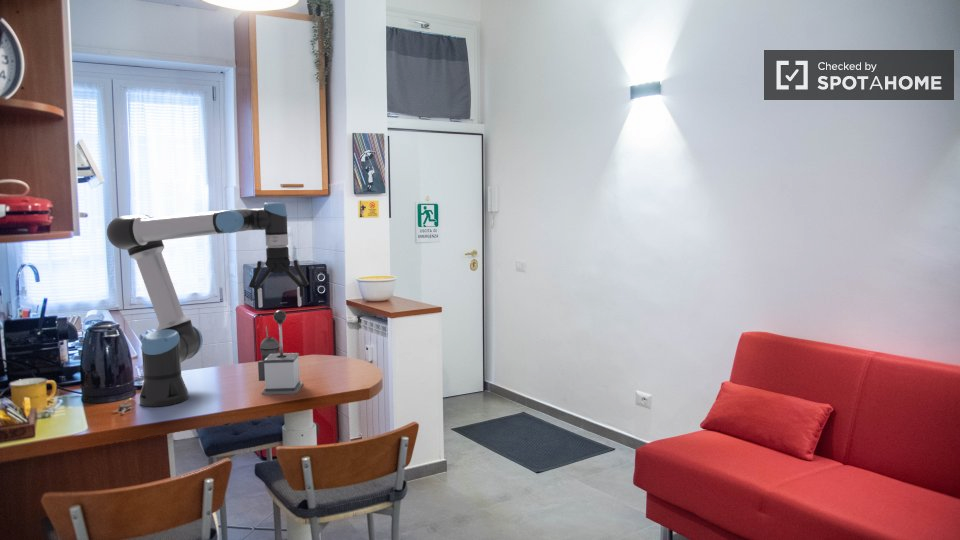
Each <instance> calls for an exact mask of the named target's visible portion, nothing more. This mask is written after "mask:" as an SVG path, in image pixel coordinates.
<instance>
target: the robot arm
mask: <svg viewBox="0 0 960 540" xmlns="http://www.w3.org/2000/svg"><path fill="white" fill-rule="evenodd" d="M246 231H265V233H264V234H265V235H264V236H265V247H266V246H267V247H266V248H265V249H266V251H265V252H266V253H265V254H266V261H263V260H261V259H260V260H258V261H257V263H256V268H255V271H254V273H253V275H252V278H251V280H250V282H249V285H248V287H249V288H252V289H254V297H255V299H257V300H258V302H257V303H258V304H257V305H258V308H263V289H262V288H261V286H262V285H263V283H264V282H265V281H266V280H267V278H269V275H271V274H284V273H285V274H287V276H288V277H289V278H290V279H291V280H292V281H293V282H294V283H295V285H297V286H298V287H297V288H296V295H297V306H298V307H301V306H302V297H304V296H305V287H307V286H308V285H309V284H310V282H309V281H308V280H309V279H307V277H306V275H305V274H304V272H303V270H302V268H301V266H300V263H299V262H300V261H299V260H298V259H294V260H290V255H289V254H290V253H289V247H288V246H289V236H288V214H287V206H286V203H284V202H264V204H263V207H262V208H231V209H224V210H218V211H208V212H206V211H205V212H198V213H197V212H196V213H189V214H178V215H172V216H171V215H170V216H169V215H168V216H161V217H155V216H152V215H149V214H144V213H143V214H142V213H140V214H133V215H121V216H117V217H115V218H113V219H112V220H111V221H110V222H109V224H108V225H107V229H106V236H107V240H108V241H109V243H111V245H112V246H114V247H116V248H118V249H120V250H125V251H127V253H128V256H129V258H131V259H133V260H135V261H136V264H137V267H138V269H139V272H140V275H141V278H142V280H143V283H144V286H145V288H146V291H147V294H148V296H149V299H150V303H151V305H152V307H153V310H154V313H155V316H156V319H157V321H158V326H157V329H156V331H151V332H148V333H146V334H145V335H144V336H143V337H142V338H141V347H140V349H141V358H142V370H143V383H142V386H141V390H140V393H139V398H138V399H139V405H141V406H144V407H148V408H149V407H151V408H152V407H154V408H155V407H165V406H170V405H171V406H172V405H175V404H176V405H177V404H180V403H182V402H184V401H187V400H188V399H189V391H188V387H187V386H186V383H185V381H184V378H183V376H182V366H181V365H182V363H183V362H184V361H186V360H190V359H192V358H193V357H194V356H196V355H197V354H198V353H199V352H200V350H201V349H202V346H203V340H204V339H203V335H202V332H201V331H200V330H199V329H198V328H197V327H195V326H194V325H193V323H192V321H191V319H190V317H187V316H185V315H184V312H183V308H182V306H181V304H180V300H179V298H178V295H177V292H176V290H175V287H174V284H173V281H172V279H171V275H170V273H169V270H168V267H167V264H166V262H165V261H166V260H165V258H164V257H163V253H162V252H163V251H164V249H165V245H164V242H163V241H166V240H174V239H183V238H192V237H202V236H203V237H204V236H209V235H210V236H212V235H219V234H233V233H234V234H235V233H238V232H246ZM290 265H291V266H292V267H294V269H295V270H296V272H297V274H298V276H299V277H297V276H296V274H295V273H294V272H293V271H292V270H291V269H290V268H289V267H290ZM265 266H266V267H267V270H266V271H265V273H264V274H263V275H262V277H261V278H260V279H259V280H258V278H259V275H260V274H261V271H262V268H264V267H265ZM299 278H300V279H299ZM257 280H258V281H257ZM256 282H257V283H256Z"/></svg>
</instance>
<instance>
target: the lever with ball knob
mask: <svg viewBox="0 0 960 540" xmlns="http://www.w3.org/2000/svg"><path fill="white" fill-rule="evenodd" d="M286 319H287V313H286V312H285V311H284V310H279V309H278V310H276V311H275V312H274V313H273V321H275V322H276V324H278V337H279V338H278V339H279V341H278V342H279V347H280V348H279V353H280V358H283V353H284V345H283V326H282V325H283V324H284V322H285V321H286Z"/></svg>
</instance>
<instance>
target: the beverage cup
mask: <svg viewBox="0 0 960 540" xmlns="http://www.w3.org/2000/svg"><path fill="white" fill-rule="evenodd" d="M264 329H265V334H266V337H265V338H264V339H263V340H262V341H261V343H260V347H259V350H260V355H261V359H262V360H261V361H264V360H265V359H266V358H267V357H268V356H269V355H270V354H276V353H280V342H279V341H278V340H277V339H276V338H274V337H273V336H272V337H271V336H269V332H268V328H267V325H265V328H264Z"/></svg>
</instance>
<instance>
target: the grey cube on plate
mask: <svg viewBox="0 0 960 540" xmlns="http://www.w3.org/2000/svg"><path fill="white" fill-rule="evenodd" d="M299 357H300V353H299V352H288V353H287V352H283V358H280V352H279V353H276V354H270V355H269V356H268V357H267V358H266V359H265V360H264V361H262V360H259V361H257V366H258V367H257V369H258V372H257V373H258V381H259V382H263V381H264V382H265V383H264V389H263V391H262V392H261V395H262V396H263V395H291V394H293V395H294V394H295V395H297V394H298V393H299V391H300V389H301V388H302V387H303V385H304V381H301V380H300V379H301V378H300V358H299Z"/></svg>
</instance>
